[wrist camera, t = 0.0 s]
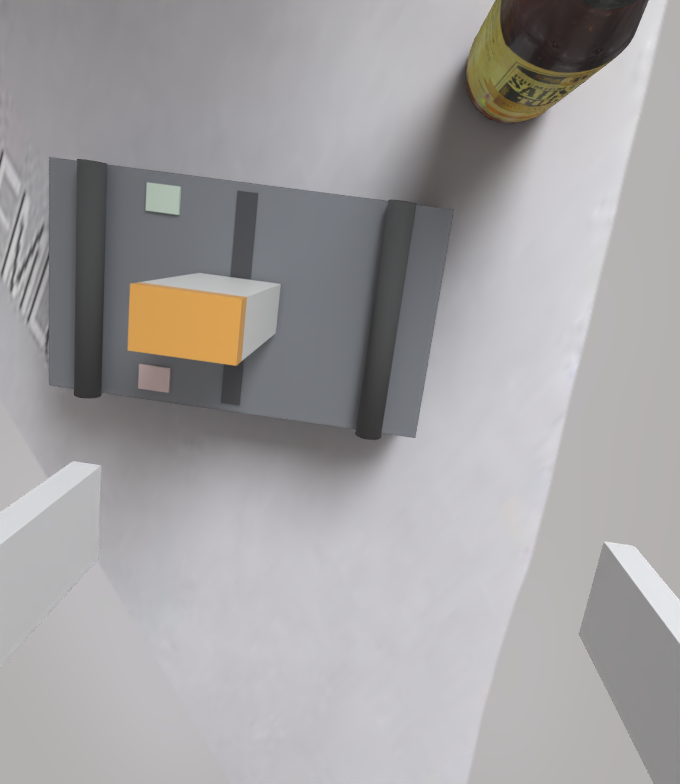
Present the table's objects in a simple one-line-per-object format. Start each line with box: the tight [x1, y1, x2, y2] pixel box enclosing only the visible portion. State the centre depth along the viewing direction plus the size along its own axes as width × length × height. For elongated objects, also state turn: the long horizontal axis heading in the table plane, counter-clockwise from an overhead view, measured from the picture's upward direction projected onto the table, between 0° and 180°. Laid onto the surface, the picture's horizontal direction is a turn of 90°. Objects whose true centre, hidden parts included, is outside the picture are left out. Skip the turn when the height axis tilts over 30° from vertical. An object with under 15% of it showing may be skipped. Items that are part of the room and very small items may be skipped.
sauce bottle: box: [466, 0, 649, 123], centre depth 28 cm, size 7×6×20 cm
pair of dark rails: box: [74, 159, 417, 440], centre depth 35 cm, size 14×20×2 cm
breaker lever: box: [128, 273, 281, 366], centre depth 31 cm, size 3×5×10 cm, turn 83°
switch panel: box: [49, 157, 454, 438], centre depth 39 cm, size 14×24×6 cm, turn 83°
